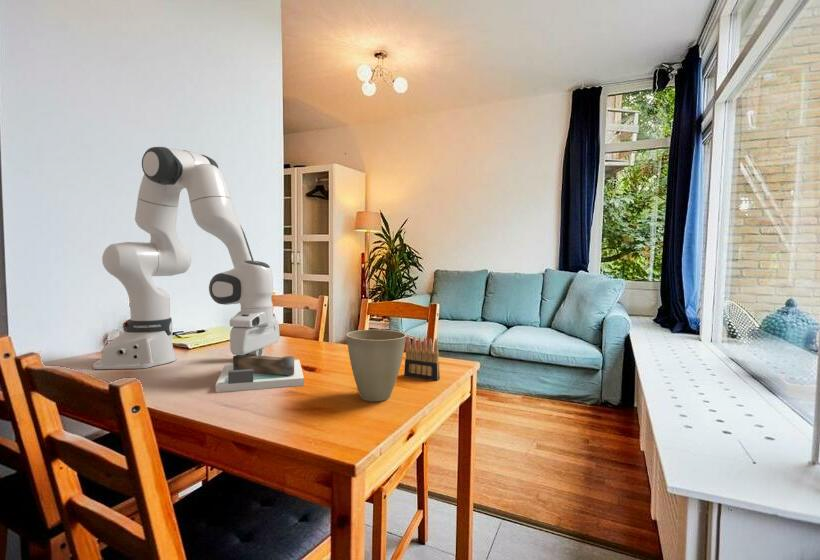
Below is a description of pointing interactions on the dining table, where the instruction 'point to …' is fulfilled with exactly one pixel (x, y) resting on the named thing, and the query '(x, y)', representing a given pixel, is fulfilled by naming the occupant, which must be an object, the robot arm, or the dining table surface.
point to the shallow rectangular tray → (256, 379)
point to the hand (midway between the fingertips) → (257, 363)
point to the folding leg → (265, 364)
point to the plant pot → (375, 361)
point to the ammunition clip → (422, 360)
